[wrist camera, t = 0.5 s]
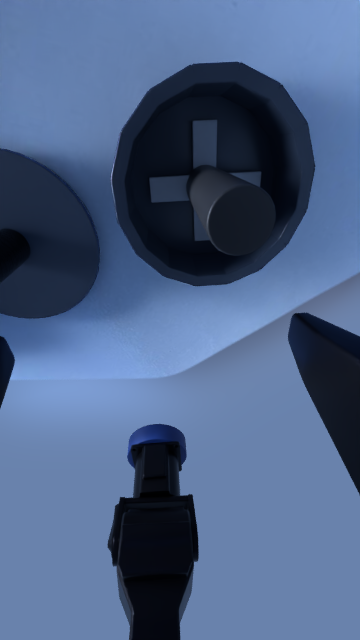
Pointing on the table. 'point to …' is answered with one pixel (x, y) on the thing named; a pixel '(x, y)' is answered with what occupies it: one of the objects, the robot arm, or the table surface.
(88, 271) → the lid
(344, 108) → the table surface
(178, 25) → the table surface
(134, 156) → the round container
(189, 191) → the post with cross base
